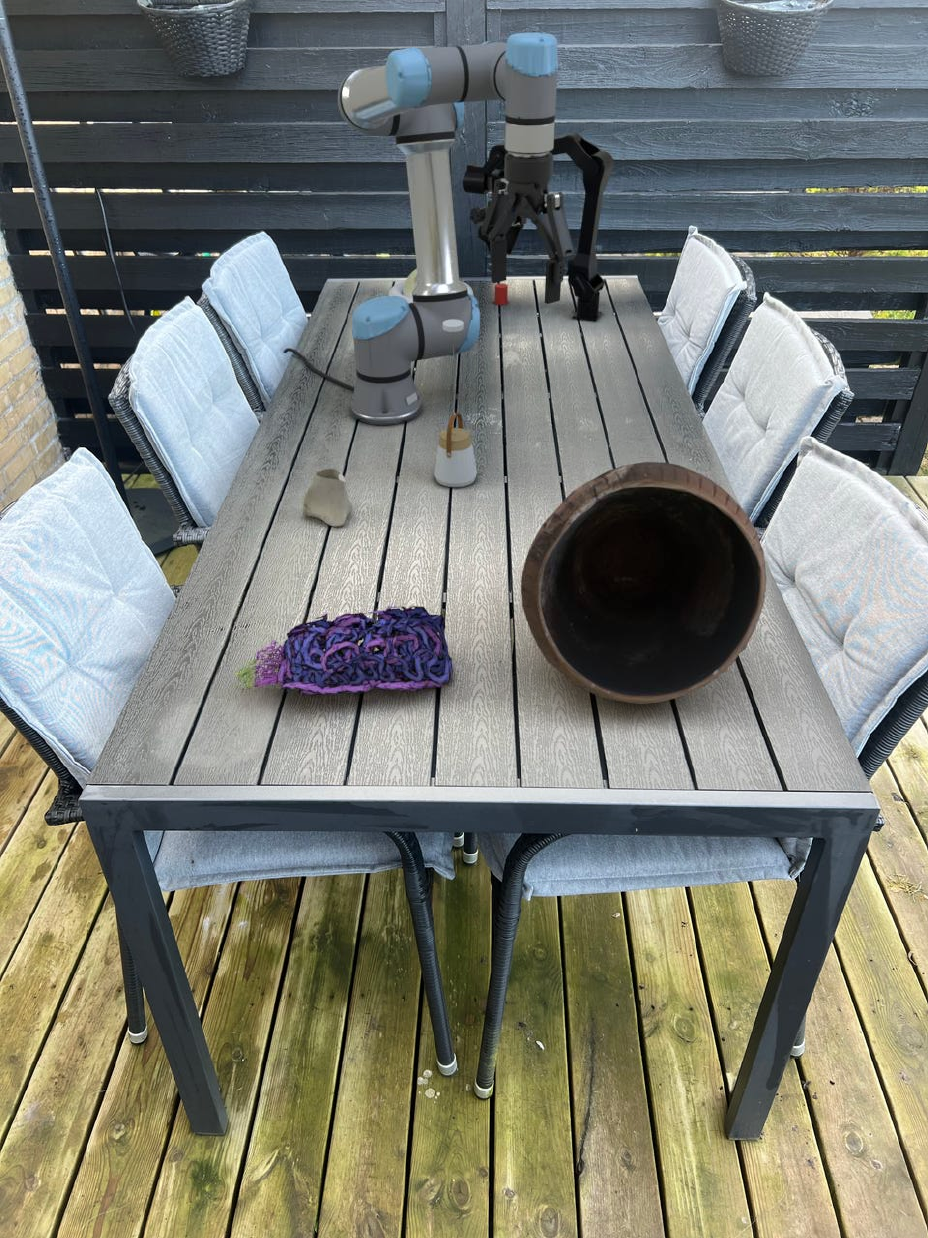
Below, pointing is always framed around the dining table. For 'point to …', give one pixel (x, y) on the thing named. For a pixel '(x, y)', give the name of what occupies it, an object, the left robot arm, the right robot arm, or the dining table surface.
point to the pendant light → (455, 442)
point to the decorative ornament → (358, 654)
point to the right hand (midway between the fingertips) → (501, 258)
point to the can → (501, 294)
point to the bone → (327, 498)
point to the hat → (411, 287)
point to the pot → (644, 583)
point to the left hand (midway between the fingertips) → (524, 291)
